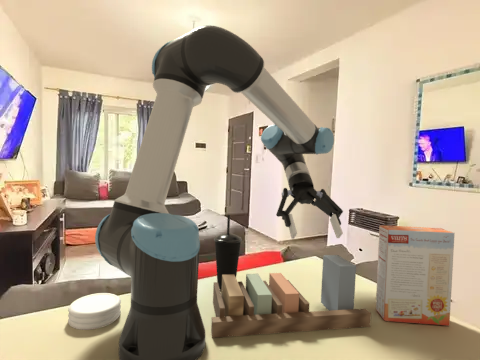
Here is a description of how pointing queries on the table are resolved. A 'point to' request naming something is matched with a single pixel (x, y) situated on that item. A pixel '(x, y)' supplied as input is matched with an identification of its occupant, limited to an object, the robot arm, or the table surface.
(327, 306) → the slate blue block
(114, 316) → the white disc stack
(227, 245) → the drinking cup
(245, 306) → the rack
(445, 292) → the cracker box
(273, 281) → the terracotta offcut
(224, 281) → the oak offcut
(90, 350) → the table surface
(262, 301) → the sage offcut
